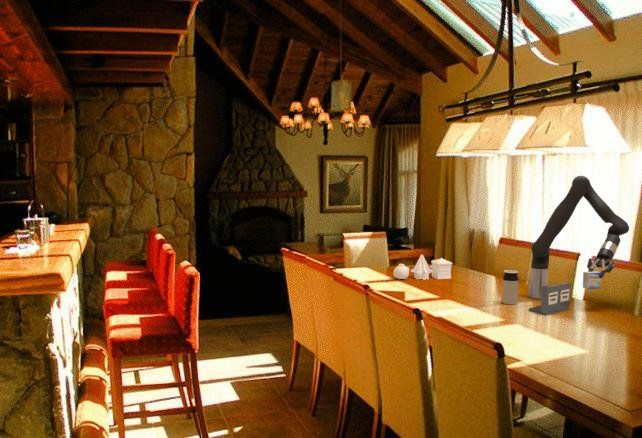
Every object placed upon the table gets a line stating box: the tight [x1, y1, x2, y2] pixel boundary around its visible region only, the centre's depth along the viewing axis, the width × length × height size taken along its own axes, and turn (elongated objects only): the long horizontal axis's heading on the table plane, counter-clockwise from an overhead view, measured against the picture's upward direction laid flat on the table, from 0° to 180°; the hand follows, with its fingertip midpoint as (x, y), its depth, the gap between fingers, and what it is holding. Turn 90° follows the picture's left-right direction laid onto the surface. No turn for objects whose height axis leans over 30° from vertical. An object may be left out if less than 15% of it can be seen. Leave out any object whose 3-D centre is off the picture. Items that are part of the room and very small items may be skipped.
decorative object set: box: [393, 254, 453, 281], centre depth 398 cm, size 40×18×16 cm, turn 105°
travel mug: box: [501, 269, 519, 306], centre depth 326 cm, size 8×8×18 cm
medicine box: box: [582, 270, 602, 290], centre depth 311 cm, size 8×4×9 cm, turn 106°
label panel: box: [528, 281, 572, 316], centre depth 311 cm, size 10×22×14 cm, turn 127°
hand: (594, 276), depth 312 cm, fingers closed on medicine box, 5 cm apart
